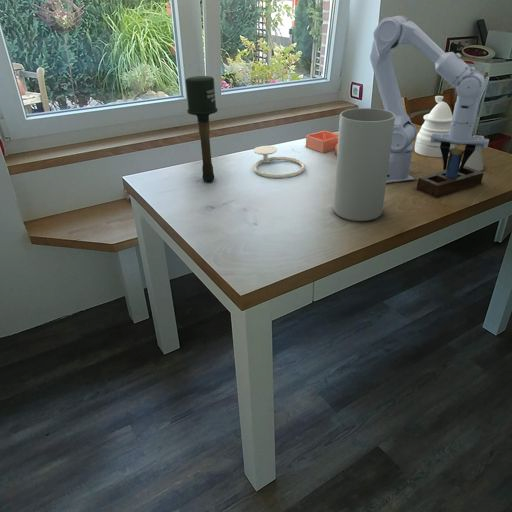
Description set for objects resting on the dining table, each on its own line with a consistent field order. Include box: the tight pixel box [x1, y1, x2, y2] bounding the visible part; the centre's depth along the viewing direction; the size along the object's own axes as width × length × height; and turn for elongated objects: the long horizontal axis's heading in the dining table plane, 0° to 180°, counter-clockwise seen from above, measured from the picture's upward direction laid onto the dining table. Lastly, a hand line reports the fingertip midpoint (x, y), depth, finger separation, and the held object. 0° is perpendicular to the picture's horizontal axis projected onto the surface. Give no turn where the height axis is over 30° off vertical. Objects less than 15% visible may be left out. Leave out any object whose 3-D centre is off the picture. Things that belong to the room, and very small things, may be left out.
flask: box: [460, 135, 485, 172], centre depth 136 cm, size 7×7×10 cm
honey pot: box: [413, 95, 456, 158], centre depth 149 cm, size 13×13×18 cm
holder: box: [416, 166, 485, 199], centre depth 126 cm, size 7×18×4 cm, turn 119°
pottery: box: [305, 130, 339, 156], centre depth 155 cm, size 18×10×10 cm, turn 36°
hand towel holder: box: [252, 145, 306, 179], centre depth 143 cm, size 17×4×21 cm
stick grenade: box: [184, 75, 218, 183], centre depth 128 cm, size 8×9×30 cm
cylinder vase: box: [333, 107, 395, 222], centre depth 108 cm, size 12×12×25 cm
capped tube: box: [445, 147, 465, 179], centre depth 124 cm, size 4×4×9 cm
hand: (452, 169), depth 124 cm, fingers closed on capped tube, 3 cm apart
